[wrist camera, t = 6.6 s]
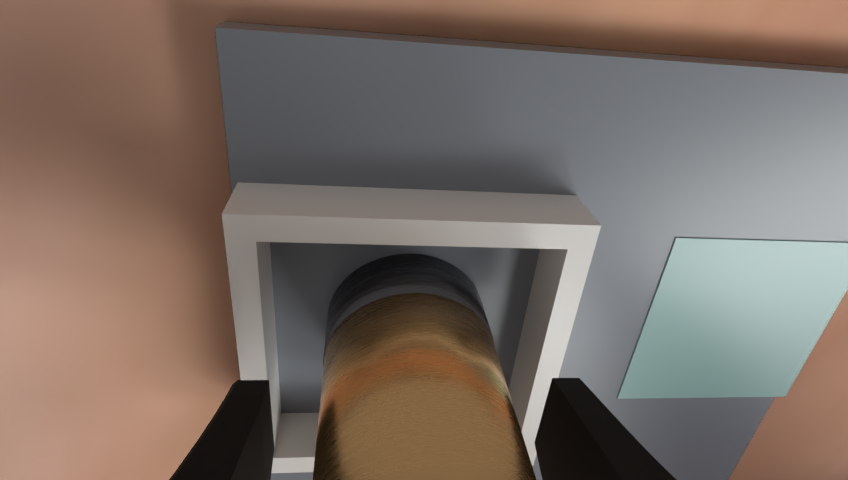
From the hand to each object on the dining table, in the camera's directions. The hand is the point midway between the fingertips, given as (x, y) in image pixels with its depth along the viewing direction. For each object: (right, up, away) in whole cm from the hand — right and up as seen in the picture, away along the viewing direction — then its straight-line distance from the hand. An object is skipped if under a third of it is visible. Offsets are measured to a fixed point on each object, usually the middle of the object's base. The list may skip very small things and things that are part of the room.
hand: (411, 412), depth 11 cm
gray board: (+4, +2, +4) cm, 6 cm away
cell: (0, +2, +3) cm, 3 cm away
